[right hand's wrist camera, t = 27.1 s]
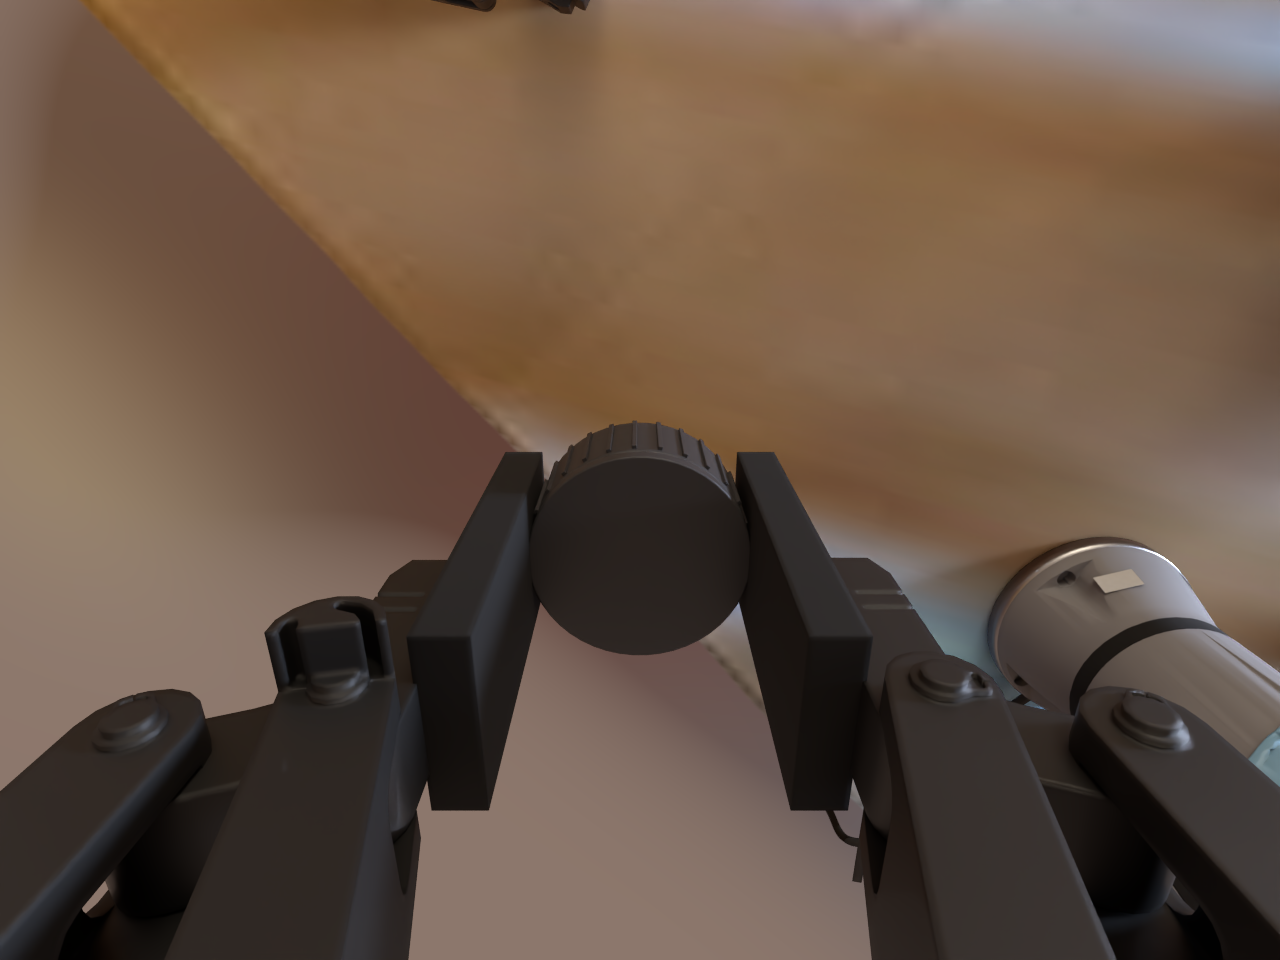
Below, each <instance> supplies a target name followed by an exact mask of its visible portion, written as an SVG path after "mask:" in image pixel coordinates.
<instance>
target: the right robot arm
mask: <svg viewBox="0 0 1280 960" xmlns="http://www.w3.org/2000/svg"><path fill="white" fill-rule="evenodd" d="M543 484H544V472H543V454H542V452H506V453H505V454H504V456H503V458H502V460H501V462H500V464H499V465H498V468H497V469H496V471H495V473H494V475H493V477H492V478H491V480H490V482H489V484H488V486H487V488H486V490H485V491H484V493H483V495H482V497H481V499H480V501H479V503H478V504H477V506H476V508H475V510H474V512H473V514H472V515H471V517H470V519H469V521H468V523H467V525H466V527H465V528H464V530H463V532H462V534H461V536H460V538H459V540H458V541H457V543H456V545H455V547H454V549H453V551H452V553H451V554H450V556H449V558H448V560H412V561H410V562H409V563H407V564H406V565H405V566H403V567H402V568H400V569H399V570H397V571H396V572H394V573H393V574H391V575H390V576H389V577H388V579H387V580H386V582H385V583H384V585H383V586H382V588H381V589H380V591H379V592H378V597H375V598H374V600H371V599H366V598H362V597H359V596H339V597H332V598H327V599H322V600H316V601H313V602H310V603H308V604H305V605H302V606H299V607H297V608H294V609H292V610H290V611H289V612H287V613H286V614H284V615H282V616H281V617H279V618H278V619H276V620H275V621H274V622H273V623H272V624H271V625H270V627H269V628H268V629H267V630H266V631H265V637H266V642H267V646H268V650H269V654H270V659H271V663H272V667H273V671H274V675H275V679H276V684H277V688H278V694H277V696H276V699H275V701H274V703H273V704H270V705H266V706H262V707H259V708H255V709H251V710H246V711H241V712H236V713H231V714H226V715H222V716H217V717H212V718H207V719H205V715H204V712H203V709H202V705H201V702H200V700H199V699H198V698H196V697H195V696H194V695H193V694H192V693H190V692H186V691H180V690H175V689H166V690H156V691H147V692H143V693H138V694H136V695H131V696H128V697H125V698H122V699H120V700H118V701H116V702H114V703H112V704H110V705H108V706H105V707H103V708H101V709H99V710H97V711H95V712H94V713H92V714H91V715H89V716H88V717H87V718H85V719H84V720H82V721H81V722H80V723H78V724H77V725H75V726H74V727H73V728H72V729H70V730H69V731H68V732H67V733H66V734H65V735H64V736H63V737H61V738H60V739H59V740H58V741H57V742H56V743H55V744H53V745H52V746H51V747H50V748H49V749H48V750H47V751H45V752H44V753H43V754H42V755H41V756H40V757H39V758H38V759H36V760H35V761H34V762H33V763H32V764H31V765H30V766H29V767H27V768H26V769H25V770H24V771H23V772H22V773H20V774H19V775H18V776H17V777H16V778H15V779H14V780H13V781H11V782H10V783H9V784H8V785H7V786H6V787H5V788H3V789H2V790H1V791H0V960H408V958H409V948H410V938H411V928H412V919H413V909H414V899H415V890H416V880H417V870H418V861H419V851H420V841H421V836H420V829H419V823H418V817H417V810H416V809H417V806H418V803H419V801H420V798H421V795H422V793H423V790H424V787H425V784H426V782H428V789H429V796H430V802H431V809H432V810H489V808H490V803H491V799H492V795H493V791H494V787H495V783H496V779H497V775H498V771H499V767H500V763H501V759H502V755H503V751H504V747H505V743H506V739H507V735H508V731H509V727H510V723H511V719H512V715H513V711H514V707H515V703H516V699H517V695H518V691H519V687H520V683H521V679H522V675H523V671H524V666H525V663H526V659H527V655H528V651H529V646H530V643H531V639H532V634H533V630H534V626H535V622H536V618H537V614H538V610H539V606H540V602H541V601H540V599H539V598H538V596H537V594H536V592H535V589H534V586H533V584H532V577H531V562H530V546H529V538H530V534H531V530H532V526H533V523H534V520H535V517H536V514H535V513H534V510H535V507H536V505H537V502H538V499H539V496H540V493H541V490H542V487H543ZM735 485H736V488H737V491H738V494H739V497H740V500H741V503H742V504H741V505H742V508H743V511H744V514H745V517H746V520H747V528H748V532H749V536H750V555H749V570H748V582H747V585H746V588H745V591H744V593H743V595H742V597H741V599H740V600H739V604H740V608H741V612H742V616H743V620H744V624H745V628H746V632H747V636H748V640H749V644H750V648H751V652H752V656H753V660H754V664H755V668H756V672H757V677H758V681H759V685H760V689H761V693H762V697H763V701H764V705H765V709H766V713H767V717H768V721H769V725H770V729H771V733H772V737H773V741H774V745H775V749H776V753H777V757H778V761H779V765H780V769H781V773H782V777H783V781H784V785H785V789H786V793H787V797H788V801H789V805H790V809H791V810H825V811H826V813H827V815H828V817H829V819H830V821H831V824H832V826H833V829H834V831H835V833H836V834H837V836H838V837H839V838H840V839H841V840H842V841H843V842H845V843H847V844H849V845H851V846H855V847H858V848H857V855H856V861H855V867H854V874H853V880H852V881H855V882H860V883H861V882H862V877H863V878H864V888H865V898H866V907H867V917H868V927H869V936H870V946H871V956H872V960H1280V673H1279V672H1278V671H1277V670H1275V669H1274V668H1273V667H1271V666H1270V665H1268V664H1267V663H1266V662H1264V661H1263V660H1261V659H1260V658H1259V657H1257V656H1256V655H1255V654H1253V653H1252V652H1250V651H1249V650H1248V649H1246V648H1245V647H1243V646H1242V645H1241V644H1239V643H1238V642H1237V641H1235V640H1234V639H1232V638H1231V637H1229V636H1228V635H1227V634H1225V633H1224V632H1223V631H1221V630H1220V629H1219V628H1217V626H1216V625H1215V623H1214V622H1213V620H1212V619H1211V617H1210V616H1209V614H1208V613H1207V611H1206V610H1205V608H1204V607H1203V605H1202V604H1201V602H1200V601H1199V599H1198V598H1197V596H1196V595H1195V594H1194V592H1193V590H1192V588H1191V586H1190V584H1189V582H1188V581H1187V579H1186V578H1185V577H1184V576H1183V574H1182V573H1181V572H1180V571H1179V570H1178V568H1176V567H1175V566H1174V565H1173V564H1172V563H1171V562H1170V561H1168V560H1167V559H1165V558H1164V557H1163V556H1161V555H1160V554H1158V553H1157V552H1155V551H1154V550H1152V549H1150V548H1149V547H1147V546H1145V545H1143V544H1140V543H1138V542H1135V541H1132V540H1128V539H1123V538H1115V537H1096V538H1088V539H1082V540H1078V541H1074V542H1070V543H1067V544H1064V545H1061V546H1059V547H1057V548H1054V549H1052V550H1050V551H1048V552H1046V553H1044V554H1042V555H1041V556H1039V557H1038V558H1036V559H1034V560H1033V561H1032V562H1030V563H1029V564H1028V565H1026V566H1025V567H1024V568H1023V569H1022V570H1020V571H1019V572H1018V573H1017V574H1016V575H1015V576H1014V577H1013V578H1012V579H1011V581H1010V582H1009V583H1008V584H1007V585H1006V587H1005V588H1004V590H1003V591H1002V592H1001V594H1000V596H999V597H998V599H997V601H996V603H995V605H994V608H993V610H992V613H991V616H990V620H989V626H988V644H989V649H990V653H991V655H992V658H993V660H994V662H995V664H996V666H997V667H998V668H999V670H1000V671H1001V672H1002V674H1003V675H1004V676H1005V678H1006V679H1007V680H1008V681H1009V683H1010V684H1011V685H1012V686H1013V687H1014V688H1015V689H1016V690H1017V691H1019V692H1020V693H1021V695H1020V696H1018V697H1017V698H1015V699H1014V700H1012V701H1011V702H1010V701H1006V700H1005V697H1004V695H1003V693H1002V691H1001V689H1000V688H999V687H998V685H997V684H996V683H995V681H994V680H993V678H992V677H991V676H989V675H988V674H986V673H985V672H984V671H982V670H981V669H979V668H978V667H977V666H975V665H973V664H971V663H969V662H966V661H964V660H962V659H959V658H957V657H955V656H951V655H946V654H944V652H943V651H942V649H941V648H940V646H939V645H938V643H937V642H936V640H935V639H934V637H933V636H932V634H931V633H930V631H929V630H928V628H927V627H926V626H925V624H924V623H923V621H922V620H921V618H920V617H919V615H918V614H917V612H916V611H915V609H912V605H911V603H910V602H909V600H908V599H907V597H906V596H905V595H904V594H902V590H901V589H900V587H899V586H898V584H897V583H896V581H895V580H894V578H893V577H892V575H891V574H890V573H889V572H888V571H886V570H885V569H883V568H882V567H880V566H879V565H877V564H876V563H874V562H873V561H871V560H870V559H868V558H831V557H830V555H829V553H828V552H827V550H826V548H825V546H824V544H823V542H822V540H821V539H820V537H819V535H818V533H817V531H816V529H815V527H814V526H813V524H812V522H811V520H810V518H809V516H808V514H807V513H806V511H805V509H804V507H803V505H802V503H801V502H800V500H799V498H798V496H797V494H796V492H795V490H794V489H793V487H792V485H791V483H790V481H789V479H788V477H787V476H786V474H785V472H784V470H783V468H782V466H781V464H780V463H779V461H778V459H777V457H776V455H775V453H774V452H737V464H736V482H735ZM1030 700H1031V701H1033V702H1034V703H1036V704H1038V705H1039V706H1041V707H1043V708H1044V709H1046V710H1044V709H1039V708H1034V707H1029V706H1025V705H1024V704H1026V703H1027V702H1029V701H1030ZM852 779H853V780H854V782H855V785H856V788H857V790H858V793H859V796H860V799H861V801H862V804H863V807H864V810H863V817H862V823H861V829H860V835H859V838H853V837H850V836H848V835H847V834H845V833H844V831H843V830H842V829H841V827H840V825H839V822H838V820H837V818H836V815H835V813H834V811H833V810H848V806H849V799H850V793H851V786H852ZM104 881H105V882H106V884H107V887H108V889H109V890H108V891H107V892H106V893H105V895H104V896H103V897H102V898H101V899H100V901H99V902H98V903H97V904H96V905H95V906H94V907H93V908H91V909H90V910H89V911H88V912H87V913H85V912H83V910H82V907H83V906H84V905H85V904H86V903H87V901H88V900H89V899H90V898H91V897H92V895H93V894H94V893H95V892H96V891H97V889H98V888H99V887H100V886H101V885H102V883H103V882H104Z"/></svg>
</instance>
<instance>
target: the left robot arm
mask: <svg viewBox="0 0 1280 960" xmlns="http://www.w3.org/2000/svg"><path fill="white" fill-rule="evenodd" d="M433 1H437V2H442V3H447V4H451V5H456V6H461V7H465V8H470V9H474V10H479V11H484V12H488V11H491V10H492V9H493V8H494V7H495V4H496V0H433ZM540 1H542V2H544V3H545V4H547V5H549V6H550V7H552V8H554V9H555V10H557V11H559V12H560V13H565V14H572V11H573V9H574V6H576V7H578V8H580V9H582V10H586V8H587V5H588V3H589V1H590V0H540Z"/></svg>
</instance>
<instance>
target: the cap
mask: <svg viewBox="0 0 1280 960" xmlns="http://www.w3.org/2000/svg"><path fill="white" fill-rule="evenodd" d="M741 504H742V503H741V500H740V497H739V494H738V491H737V488H736V485H735V482H734V479H733V476H732V474H731V472H728V473H727V471H726V469H725V467H724V466H723V464H722V462H721V459H720V456H719V455H718V454H716V455H715V454H714V453H713V452H712V451H711V450H709V449H708V448H707V447H706V446H705V445H704V442H703V440H701V439H699V441H698V440H697V439H695V438H693V437H692V436H690V435H688V434H686V433H684V431H683V429H681V428H679V430H677V429H674V428H671V427H667V426H663V425H661V423H660V422H656V424H651V423H637V421H633V423H629V424H621V425H616V426H614V424H611V425H609V428H605V429H603V430H600V431H598V432H595V433H593V434H592V432H590V433H588V434H587V437H586V438H584V439H583V440H581V441H580V442H579V443H577V444H576V445H575V446H573V445H570V446H569V448H568V452H567V453H566V454H565V455H564V456H563V457H562V459H561V460H560V461H559V462H558V461H556V462H555V463H554V466H553V469H552V472H551V475H550V477H549V480H546V479H545V481H544V484H543V487H542V490H541V493H540V496H539V499H538V502H537V505H536V507H535V510H534V513H535V514H536V517H535V520H534V523H533V526H532V530H531V534H530V538H529V546H530V562H531V577H532V584H533V586H534V589H535V592H536V594H537V596H538V598H539V599H540V601H541V603H542V605H543V606H544V608H545V609H546V610H547V612H548V613H549V614H550V616H551V617H552V618H553V619H554V620H555V621H556V622H557V623H558V624H559V625H560V626H561V627H563V628H564V629H565V630H566V631H568V632H569V633H570V634H572V635H573V636H575V637H577V638H578V639H579V640H581V641H583V642H585V643H587V644H590V645H592V646H594V647H597V648H600V649H603V650H606V651H610V652H615V653H619V654H628V655H652V654H660V653H665V652H670V651H674V650H677V649H680V648H682V647H686V646H688V645H690V644H692V643H694V642H696V641H698V640H700V639H702V638H703V637H705V636H706V635H708V634H710V633H711V632H712V631H713V630H715V629H716V628H717V627H718V626H719V625H721V624H722V623H723V621H724V620H725V619H726V618H727V617H728V616H729V615H730V614H731V612H732V611H733V610H734V608H735V607H736V606H737V604H738V602H739V600H740V599H741V597H742V595H743V593H744V591H745V588H746V585H747V582H748V570H749V555H750V536H749V532H748V528H747V520H746V517H745V514H744V511H743V508H742V505H741Z"/></svg>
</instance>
